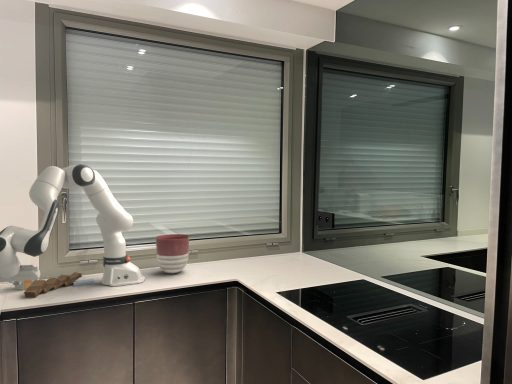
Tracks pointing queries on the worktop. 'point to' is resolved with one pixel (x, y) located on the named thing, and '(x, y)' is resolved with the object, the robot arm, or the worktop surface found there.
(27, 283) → the small box
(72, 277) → the domino
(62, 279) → the domino
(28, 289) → the domino
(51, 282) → the domino
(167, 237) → the planter
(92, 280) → the domino
